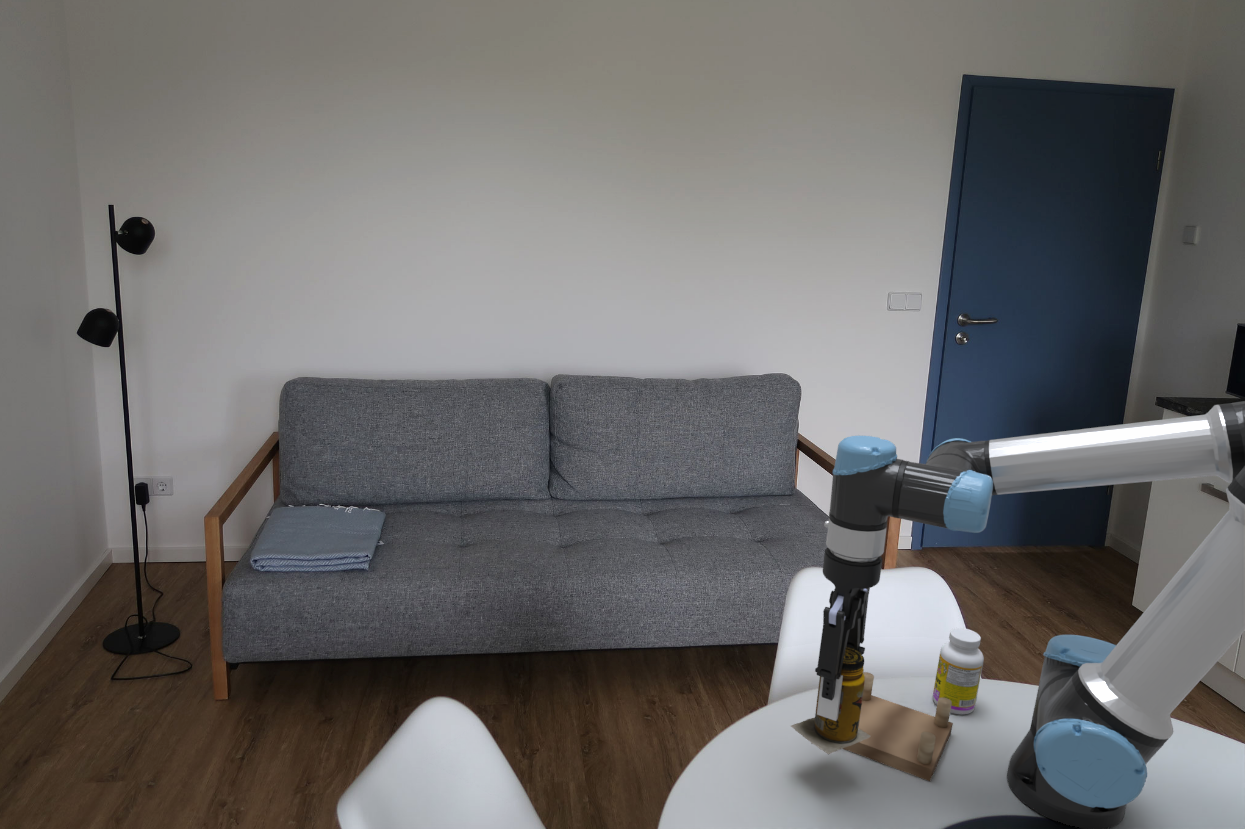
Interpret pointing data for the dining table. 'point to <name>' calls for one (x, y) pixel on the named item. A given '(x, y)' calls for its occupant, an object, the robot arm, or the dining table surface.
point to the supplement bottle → (959, 671)
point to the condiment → (840, 711)
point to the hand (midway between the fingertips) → (835, 704)
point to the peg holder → (902, 734)
